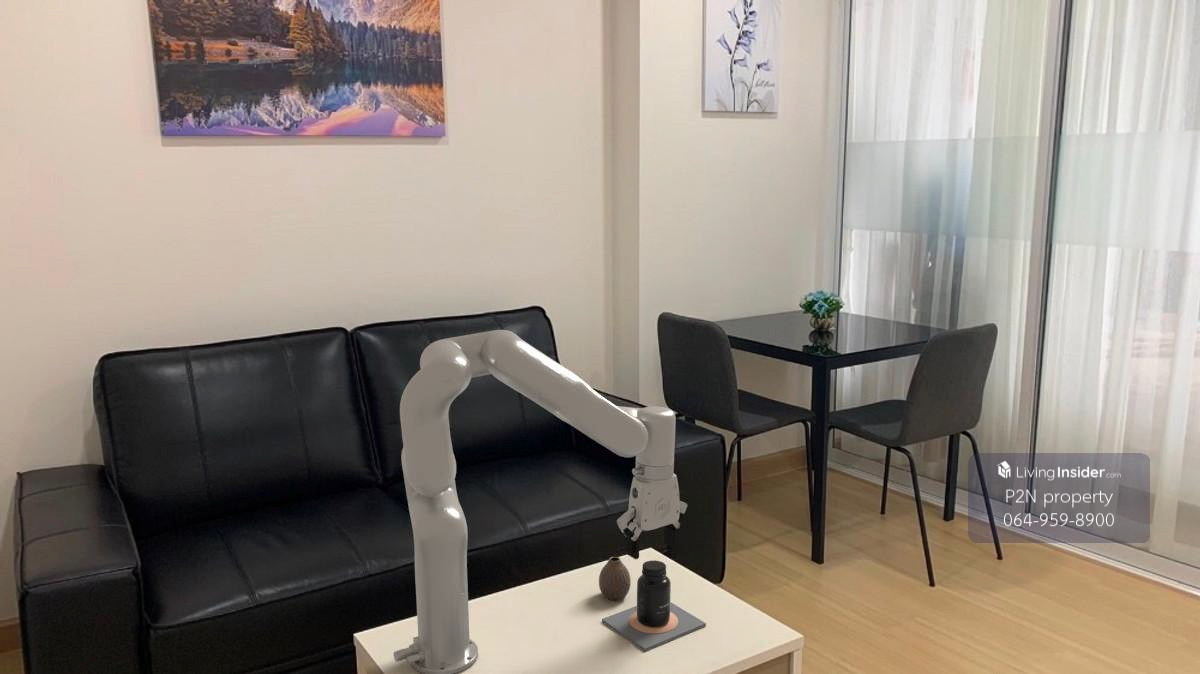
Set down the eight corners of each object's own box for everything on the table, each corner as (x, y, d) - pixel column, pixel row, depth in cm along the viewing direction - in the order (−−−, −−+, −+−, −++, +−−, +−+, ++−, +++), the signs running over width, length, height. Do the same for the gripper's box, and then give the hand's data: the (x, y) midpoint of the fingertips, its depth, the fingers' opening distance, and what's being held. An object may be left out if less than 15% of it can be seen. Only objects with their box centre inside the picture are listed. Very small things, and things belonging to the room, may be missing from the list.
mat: (644, 651, 164) (644, 647, 164) (601, 621, 176) (601, 618, 175) (705, 625, 174) (706, 622, 174) (661, 599, 185) (661, 595, 185)
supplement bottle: (668, 630, 171) (668, 574, 168) (634, 626, 172) (634, 571, 170) (672, 613, 177) (672, 559, 175) (639, 610, 179) (639, 556, 176)
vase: (594, 601, 184) (594, 563, 182) (604, 587, 190) (603, 550, 189) (625, 606, 182) (625, 567, 180) (634, 591, 188) (634, 554, 187)
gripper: (632, 483, 160) (629, 568, 163) (699, 467, 171) (696, 547, 174) (608, 472, 166) (606, 554, 169) (675, 457, 177) (671, 535, 180)
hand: (651, 550), depth 172 cm, fingers open, 9 cm apart
